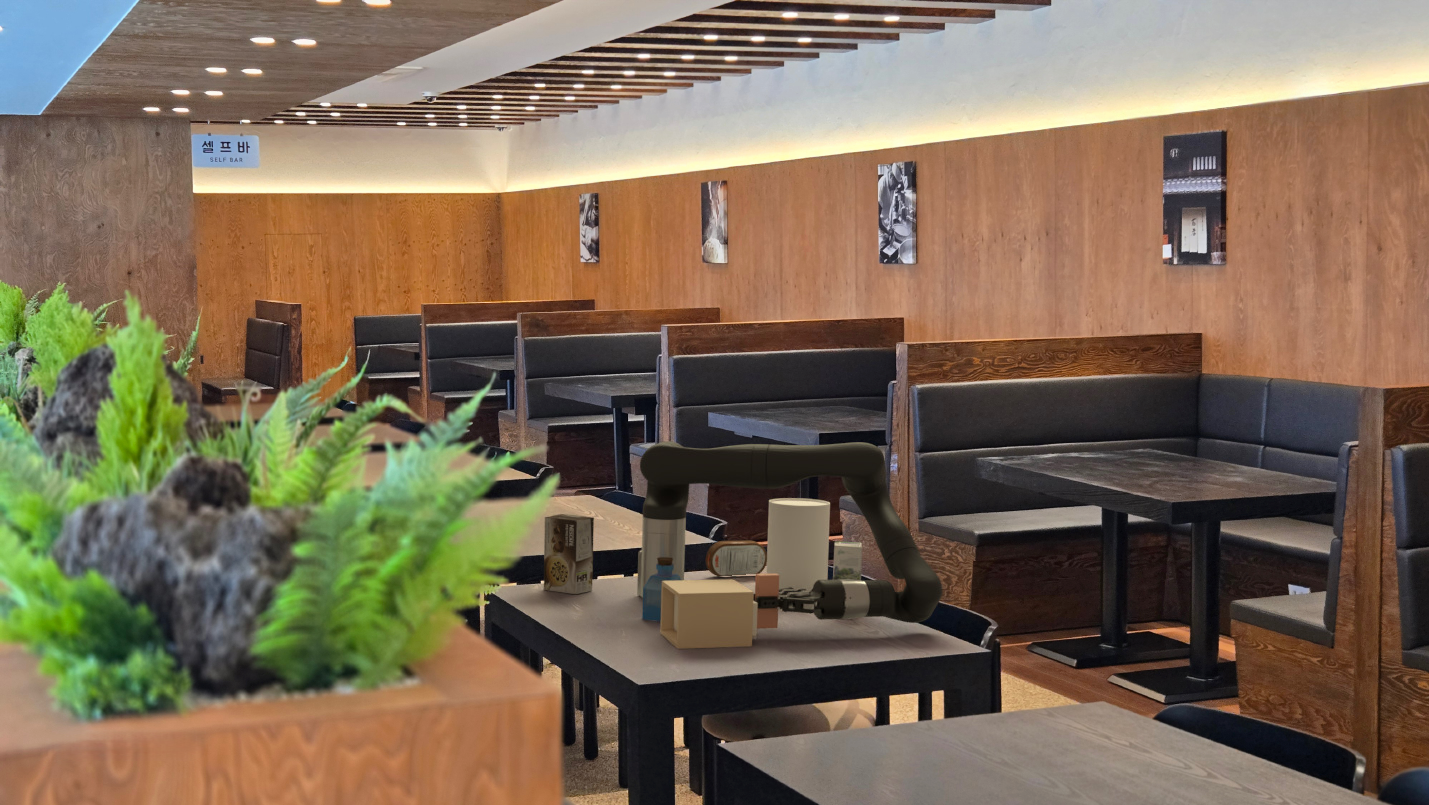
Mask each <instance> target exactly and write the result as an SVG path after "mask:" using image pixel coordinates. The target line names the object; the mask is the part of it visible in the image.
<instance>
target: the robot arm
mask: <svg viewBox="0 0 1429 805" xmlns="http://www.w3.org/2000/svg"><path fill="white" fill-rule="evenodd" d="M639 461H640V462H639V470H640V472H641V475H642V476H643V477H644V479H645V480H646V481H647V484H646V485H647V487H646V495H645V499H644V502H643V506H642V528H641V530H642V531H641V532H642V533H641V536H642V537H641V549H640V550H639V551H638V552H637V553H638V555H637V557H638V558H637V560H638V561H637V588H636V590H637V592H636V593H637V594H636V595H638V596H640V598H642V599H643V588H644V586H645V584H646V583H647V581H648V580H649V578H650V576H651V575H654V574H657V573H658V570H657V569H656V564H658V560H657V558H659V557H670V558H673V561H672V564H674V567H673V570H672V574H677V575H679V577H680V579H681V580H685V559H686V558H685V556H686V553H685V552H686V524H687V522H686V520H687V519H686V517H687V507H688V504H689V498H690V497H689V496H690V493H689V492H690V485H693V484H694V485H696V484H703V485H707V484H708V485H715V486H725V487H735V488H746V489H747V488H748V489H769V490H770V489H780V488H785V487H788V486H791V485H793V484H796V483H798V482H800V481H803V480H806V479H810V478H813V477H837V478H838V477H839V478H840V477H841V481H842V485H843V487H844V488H845V489H846V491H847V492H848V494H849V495H850V497H851V499H852V500H853V501H854V503H855V505H857V507H858V508H859V510H860V512H861V513H862V515H863V517H864V518H865V521H866V522H867V524H868V527H869V528H870V530H871V533H872V536H873V538H874V540H875V542H876V545H877V547H878V550H879V552H880V554H881V556H882V559H883V562H884V563H885V565H886V568H887V570H888V572H889V573H890V575H891V576H892V577H893V578H895V579H897V580H904V581H905V586H904V587H903V590H902V591H896V590H895V588H894V585H893V584H892V582H890V581H888V580H886V579H885V580H883V579H867V580H866V579H865V580H864V579H861V580H854V579H833V578H832V579H827V580H817V581H816V582H815V583H814V586H813V589H812V590H811V591H808V590H806V588H797V589H794V588H792V587H789V588H783V589H779V595H778V596H776V597H775V596H757V597H756V602H757V603H758V606H757V608H758V609H768V608H775V607H776V609H778V611H780V610H781V611H782V612H785V613H786V612H791V613H802V614H803V613H804V614H810V615H811V614H814V616H815V617H816V619H818V620H820V621H821V620H822V621H823V620H825V621H826V620H850V619H851V620H852V619H853V620H854V619H859V618H860V619H861V618H873V617H874V618H877V617H884V618H887V619H891V620H896V621H901V622H905V623H910V624H911V623H912V624H915V623H916V624H917V623H921V622H924V621H926V620H928V619H929V618H930V617H931V616H932V614H933V613H934V610H935V609H936V607H937V606H938V604H939V602H940V600H941V599H942V596H943V585H942V582H941V579H940V578H939V575H938V574H937V573H936V572H935V571H934V569H933V568H932V567H931V566H930V565H929V563H928V562H927V561H926V560H925V559H924V558H923V557H922V556H921V553H920V550H919V548H918V546H917V544H916V542H915V540H914V538H913V536H912V534H911V532H910V531H909V528H908V527H907V525H906V524H905V522H904V521H903V520H902V518H900V516H899V515H898V513H897V512H896V509H895V508H894V506H893V503H892V501H891V500H892V499H891V496H890V493H889V490H888V485H887V480H886V479H887V472H886V461H885V455H884V453H883V451H882V449H880V448H879V447H878V446H876V444H875V445H874V444H872V443H869V442H858V441H857V442H845V443H843V442H841V443H833V444H813V445H811V444H810V445H804V444H801V445H799V444H797V445H796V444H795V445H793V444H792V445H790V444H789V445H787V444H785V445H784V444H766V443H765V444H763V443H759V444H758V443H755V444H754V443H749V444H736V445H728V446H721V447H713V448H694V447H685V446H683V445H681V444H680V443H678V442H677V441H670V440H667V441H662V442H661V441H660V442H658V443H655V444H654V445H651V446H650V447H649V448H647V449H646V450H645V451H644V453H643V454H642V456H641V458H640V460H639ZM753 601H755V593H754V597H753Z"/></svg>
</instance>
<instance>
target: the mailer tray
mask: <svg viewBox="0 0 1429 805" xmlns="http://www.w3.org/2000/svg"><path fill="white" fill-rule="evenodd" d="M754 594H755V601H753V628H752V640H755V639H757V634H758V633H757V632H758V631H757V630H758V629H759V630H761V629H778V626H779V625H778V624H779V623H778V622H779V610H778V609H776V607H775V608H768V609H758V608H757V606H758V603H757V602H756V597H757V596H775V597H776V596H778V595H779V575H778V574H776V573H769V574H767V573H760V574H756V576H755V586H754ZM677 617H678V597H677V596H676V595H674V629H675V630H676V631H677Z"/></svg>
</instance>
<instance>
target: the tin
mask: <svg viewBox="0 0 1429 805" xmlns="http://www.w3.org/2000/svg"><path fill="white" fill-rule="evenodd" d="M705 565H706V568H707V569H708V571H709V572H710V573H711V574H712V575H714V576H716V577H718V576H732V575H746V574H762V572H763V571H764V570H765V569H766V567H767V550H766V549H765V547H764V546H763V545H762V544H760V543H758V542H757V541H755V540H721V541H717V542H715V543H713V544H712V545H711V546H710V547H709V549H708V550H707V553H706V556H705Z"/></svg>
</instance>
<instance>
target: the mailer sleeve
mask: <svg viewBox="0 0 1429 805" xmlns="http://www.w3.org/2000/svg"><path fill="white" fill-rule="evenodd" d="M754 594H755V591H753V590H751V589H750V588H748V587H746V586H744V585H743V584H741V583H740V582H738V581H737V580H735V579H731V578H729V579H693V580H692V579H691V580H689V579H687V580H685V579H684V580H676V581H662V595H661V622H660V632H659V633H660V635H662V636H663V637H664V638H665V640H668V642H669V643H670V644H671V645H673V646H674V647H675V648H676V649H677V650H679V649H680V650H681V649H682V650H683V649H685V650H686V649H710V648H714V649H715V648H740V647H753V639H752V628H753V597H754ZM674 595H676V596H677V597H678V617H677V631H676V630H675V629H674Z"/></svg>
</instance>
